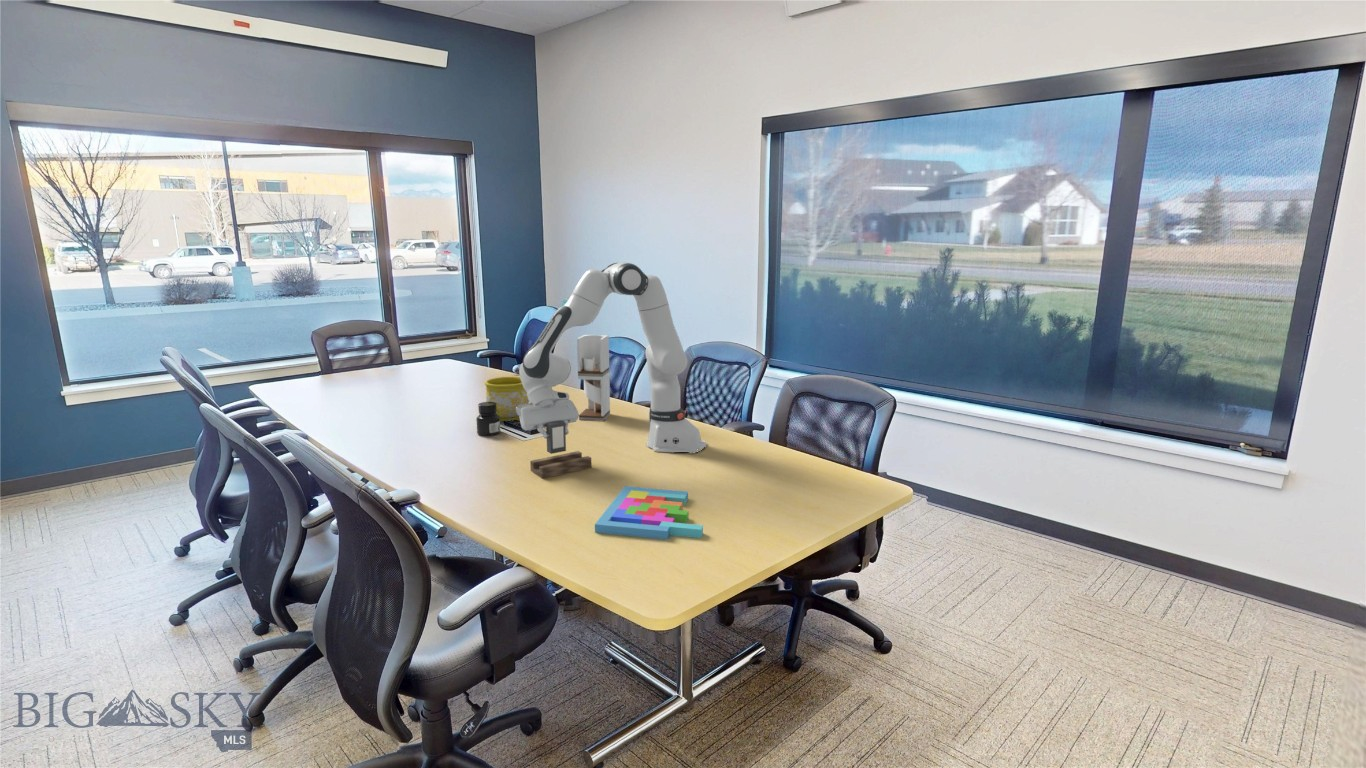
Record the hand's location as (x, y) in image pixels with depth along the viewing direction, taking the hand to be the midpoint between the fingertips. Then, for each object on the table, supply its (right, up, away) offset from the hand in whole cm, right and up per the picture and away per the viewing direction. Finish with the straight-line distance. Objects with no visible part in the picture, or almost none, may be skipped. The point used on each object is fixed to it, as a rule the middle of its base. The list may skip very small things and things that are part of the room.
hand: (556, 435), depth 221 cm
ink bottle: (-35, -2, +41) cm, 53 cm away
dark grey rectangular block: (0, -5, +2) cm, 6 cm away
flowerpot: (-33, +3, +63) cm, 71 cm away
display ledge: (+1, -11, +1) cm, 11 cm away
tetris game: (+35, -20, -36) cm, 54 cm away
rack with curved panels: (+4, +3, +65) cm, 66 cm away
